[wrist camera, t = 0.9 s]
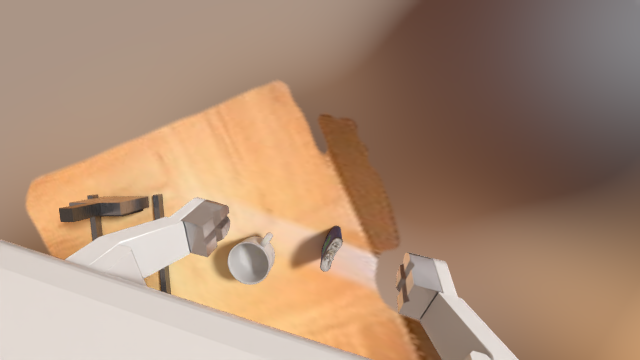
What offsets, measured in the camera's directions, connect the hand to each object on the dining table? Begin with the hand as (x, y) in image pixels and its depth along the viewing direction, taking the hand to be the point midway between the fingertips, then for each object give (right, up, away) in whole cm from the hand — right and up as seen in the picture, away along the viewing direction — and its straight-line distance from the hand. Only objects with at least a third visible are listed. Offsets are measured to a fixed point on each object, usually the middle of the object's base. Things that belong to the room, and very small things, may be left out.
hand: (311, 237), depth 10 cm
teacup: (-16, -16, +54) cm, 58 cm away
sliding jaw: (-54, -4, +54) cm, 76 cm away
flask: (+3, -14, +52) cm, 54 cm away
